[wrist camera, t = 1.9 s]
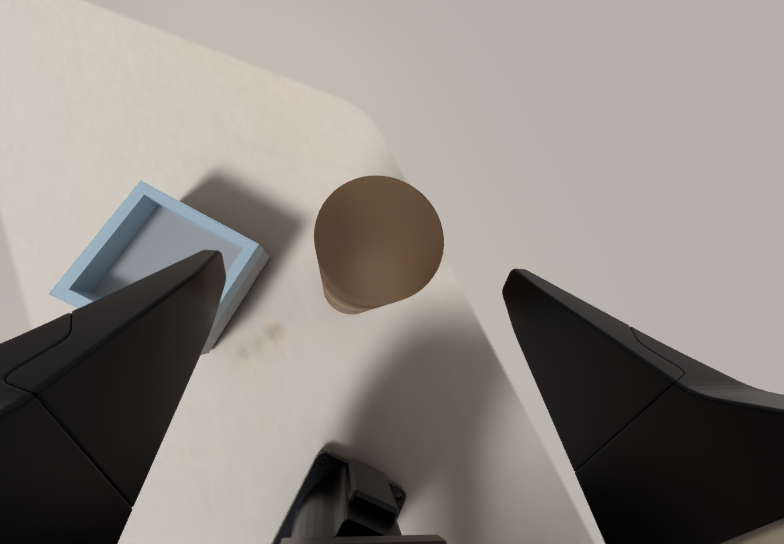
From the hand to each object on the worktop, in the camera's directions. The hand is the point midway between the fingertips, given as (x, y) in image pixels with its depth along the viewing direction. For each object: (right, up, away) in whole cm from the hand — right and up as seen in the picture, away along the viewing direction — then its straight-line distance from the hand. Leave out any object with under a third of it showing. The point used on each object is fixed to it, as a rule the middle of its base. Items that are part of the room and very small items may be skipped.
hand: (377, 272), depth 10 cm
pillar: (-2, -1, +12) cm, 13 cm away
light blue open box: (-13, 0, +10) cm, 16 cm away
